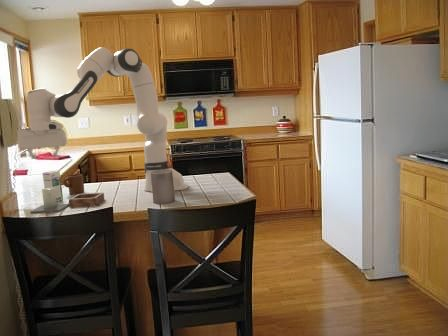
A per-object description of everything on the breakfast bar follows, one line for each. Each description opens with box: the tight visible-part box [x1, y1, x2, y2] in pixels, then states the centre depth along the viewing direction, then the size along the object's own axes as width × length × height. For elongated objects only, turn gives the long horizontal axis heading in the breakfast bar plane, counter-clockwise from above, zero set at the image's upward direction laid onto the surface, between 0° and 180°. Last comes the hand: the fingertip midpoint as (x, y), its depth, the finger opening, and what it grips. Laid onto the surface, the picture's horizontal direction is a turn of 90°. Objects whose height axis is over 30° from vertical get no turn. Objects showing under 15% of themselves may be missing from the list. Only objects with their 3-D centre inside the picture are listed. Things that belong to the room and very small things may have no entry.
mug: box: [62, 173, 85, 195], centre depth 255 cm, size 12×8×9 cm, turn 153°
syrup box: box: [42, 170, 64, 202], centre depth 239 cm, size 6×6×14 cm
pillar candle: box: [151, 169, 176, 205], centre depth 220 cm, size 10×10×15 cm
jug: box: [41, 188, 58, 209], centre depth 220 cm, size 7×5×8 cm
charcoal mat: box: [29, 203, 70, 214], centre depth 221 cm, size 13×12×1 cm
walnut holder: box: [68, 192, 105, 208], centre depth 228 cm, size 12×12×4 cm
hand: (44, 157), depth 218 cm, fingers open, 8 cm apart
